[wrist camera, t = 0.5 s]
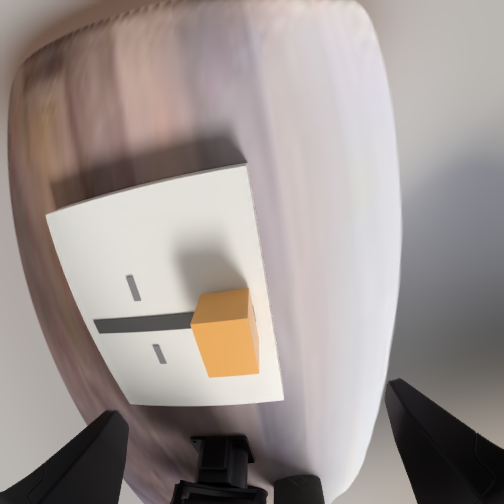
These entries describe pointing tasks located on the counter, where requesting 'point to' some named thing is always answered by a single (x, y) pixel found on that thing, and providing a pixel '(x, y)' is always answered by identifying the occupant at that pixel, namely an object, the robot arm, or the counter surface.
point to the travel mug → (298, 490)
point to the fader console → (168, 282)
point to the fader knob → (227, 333)
